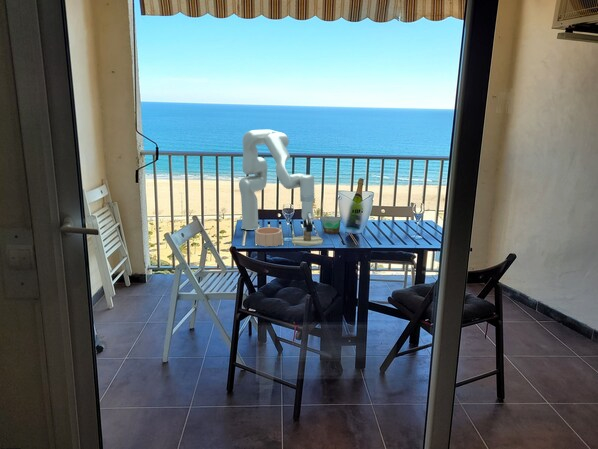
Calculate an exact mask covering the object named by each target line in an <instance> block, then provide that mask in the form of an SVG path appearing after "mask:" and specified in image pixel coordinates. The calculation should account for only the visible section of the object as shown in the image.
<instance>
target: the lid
mask: <svg viewBox="0 0 598 449" xmlns="http://www.w3.org/2000/svg"><path fill="white" fill-rule="evenodd" d="M323 242H324V239H323V238H322V237H320V236H316V235H312V232H307V231H306V229H305V230H303V235H299V236H295V237H293V238H291V243H292V244H294V245H296V246H299V247H314V246H319V245H322V244H323Z"/></svg>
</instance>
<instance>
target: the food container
mask: <svg viewBox="0 0 598 449" xmlns="http://www.w3.org/2000/svg"><path fill="white" fill-rule="evenodd" d="M320 220H321V222H322V230H323V231H322V232H323V233H324V234H327V235H337V234H339V233H340V229H341V228H340V227H341V220H343V218H342V215H339V216H333V215H330V216H329V215H328V216H323V215H321V217H320Z"/></svg>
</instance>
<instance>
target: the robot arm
mask: <svg viewBox="0 0 598 449" xmlns="http://www.w3.org/2000/svg"><path fill="white" fill-rule="evenodd" d="M289 141H290V140H289V137H288V136H287V134H286V133H284V132H281V131H276V130H273V129H269V128H268V129H253V130H248V131H247V132H245V133H244V134H243V136H242V165H241V166H242V173H244V174H245V175H249V176H244V177H242V178H241V179H240V180H239V181H238V188H239V191H240V196H241V198H240V200H241V201H240V202H241V219H242V220H241V221H242V222H241V223H242V224H241V226H242V227H241V228H242V229H246V230H253V229H258V227H259V228H260V227H261V228H262V226H261V225H260V224H259V208H258V204H259V203H258V197H257V195H256V193H255V192H260V191H263V190H264V189H265V188H266V186H267V180H268V163H267V160H266V159H265V158H264V157H262V156H259V151H258V147H257V146H262V145H265V146H266V148H267V149H268V151H269V152H270V154H271V155H272V158H273V159H274V162H275V163H276V165H275V172H276V177H277V179H278V181H279V182H280V184H281V185H282V186H283V188H285V189H286V190H293V189H297V188H299V192H300V193H299V196H300V200H299V201H300V203H301V219H302V220H303V228H306V229H305V230H306V231H307V232H311V233H312V232H313V220H314V212H313V211H314V207H313V205H314V204H313V202H315V177H314V175H313V174H305V173H300V172H298V173H292V174H290V173H289V172H288V170H287V168H286V163H287V162H288V161H289V159H291V158H290V157H291V154H290V153H289V150H288V149H287V147H288V146H289V144H290V142H289Z"/></svg>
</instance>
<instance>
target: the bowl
mask: <svg viewBox="0 0 598 449" xmlns="http://www.w3.org/2000/svg"><path fill="white" fill-rule="evenodd" d="M254 234H255V235H254V236H255V239H254V241H255V242H256V243H255V242H254V243H255V245H256V244H258V245H262V246H275V247H278V245H279V246H281V245H282V244H283V230H282V229H281V228H279V227H272V226H268V227H267V226H266V227H265V226H263V227H261V228H259V229H257V230H254Z"/></svg>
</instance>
